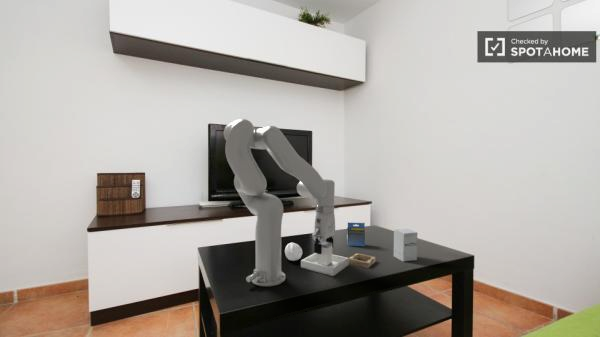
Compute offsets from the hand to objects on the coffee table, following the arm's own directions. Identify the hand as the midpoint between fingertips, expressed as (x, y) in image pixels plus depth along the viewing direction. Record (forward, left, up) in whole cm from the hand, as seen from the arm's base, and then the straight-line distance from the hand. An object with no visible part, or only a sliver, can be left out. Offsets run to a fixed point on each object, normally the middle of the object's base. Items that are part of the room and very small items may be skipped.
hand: (323, 250), depth 113 cm
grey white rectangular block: (+1, 0, -6) cm, 6 cm away
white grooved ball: (-1, +15, -7) cm, 16 cm away
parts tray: (+1, 0, -7) cm, 7 cm away
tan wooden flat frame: (+14, -11, -7) cm, 19 cm away
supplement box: (+30, -25, -7) cm, 39 cm away
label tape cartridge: (+35, +1, -7) cm, 35 cm away
